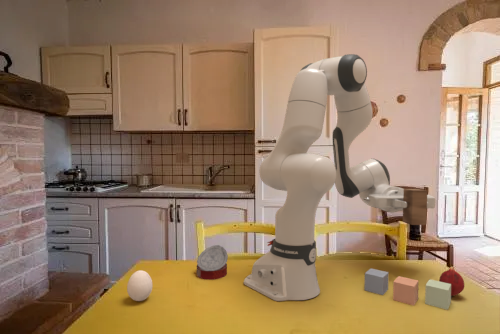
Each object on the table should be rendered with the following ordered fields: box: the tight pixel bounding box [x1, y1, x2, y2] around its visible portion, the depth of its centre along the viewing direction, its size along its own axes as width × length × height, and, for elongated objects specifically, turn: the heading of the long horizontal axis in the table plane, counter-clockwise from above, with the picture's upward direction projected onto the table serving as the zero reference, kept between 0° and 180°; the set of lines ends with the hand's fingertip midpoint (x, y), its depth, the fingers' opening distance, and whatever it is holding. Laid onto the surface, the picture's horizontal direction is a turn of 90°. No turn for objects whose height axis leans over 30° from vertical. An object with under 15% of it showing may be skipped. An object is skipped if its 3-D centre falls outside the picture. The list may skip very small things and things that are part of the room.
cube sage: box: [424, 278, 452, 311], centre depth 81 cm, size 5×5×5 cm
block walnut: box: [402, 188, 428, 226], centre depth 93 cm, size 4×4×10 cm
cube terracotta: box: [392, 276, 420, 306], centre depth 84 cm, size 5×5×5 cm
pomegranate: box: [438, 266, 465, 297], centre depth 85 cm, size 6×6×8 cm
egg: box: [126, 269, 153, 302], centre depth 83 cm, size 6×6×8 cm
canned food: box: [196, 244, 229, 281], centre depth 102 cm, size 11×10×10 cm
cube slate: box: [364, 268, 389, 296], centre depth 89 cm, size 5×5×5 cm
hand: (416, 205), depth 92 cm, fingers closed on block walnut, 4 cm apart
